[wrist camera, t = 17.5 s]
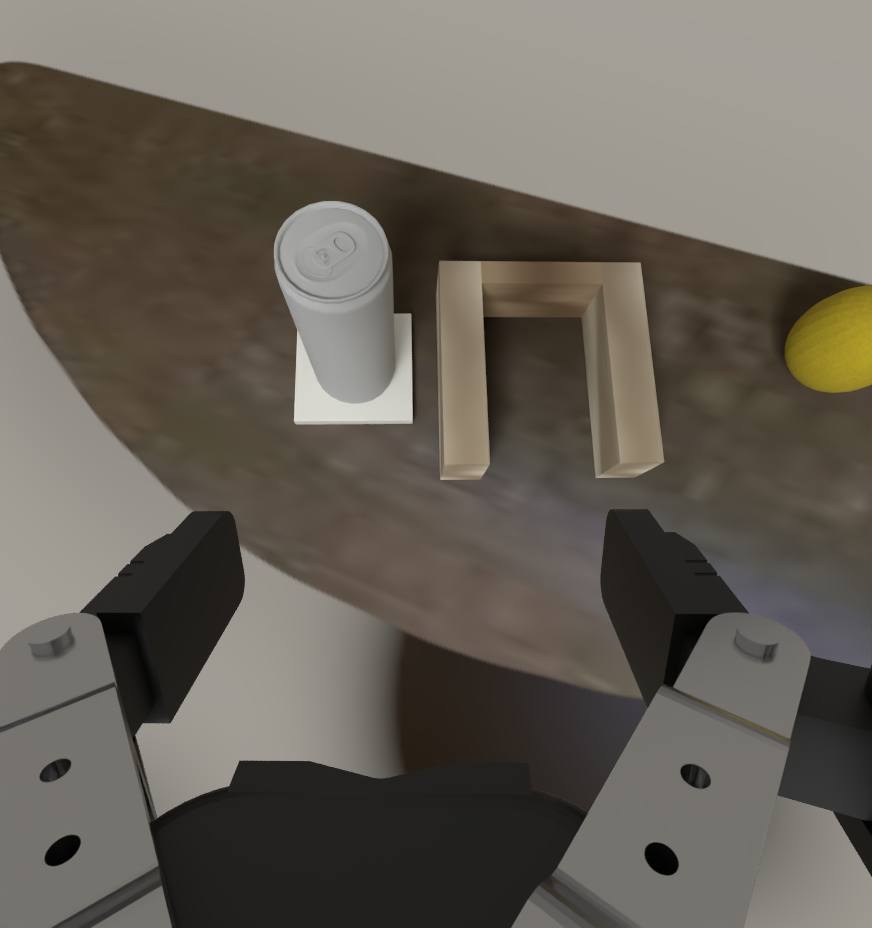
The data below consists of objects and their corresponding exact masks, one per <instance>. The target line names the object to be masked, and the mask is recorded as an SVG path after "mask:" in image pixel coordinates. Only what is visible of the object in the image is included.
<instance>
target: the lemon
mask: <svg viewBox="0 0 872 928" xmlns="http://www.w3.org/2000/svg"><path fill="white" fill-rule="evenodd" d="M784 349H785V361H786V364H787V367H788V369H789V371H790V372H791V374H792V375H793V376H794V377H795V378H796V379H797V380H798V381H799V382H800V383H802V384H803V385H805V386H807V387H809V388H812V389H814V390H817V391H823V392H828V393H837V392H849V391H853V390H857V389H860V388H863V387H866V386H869V385H871V384H872V285H867V286H861V287H855V288H850V289H847V290H844V291H841V292H839V293H837V294H834V295H832V296H830V297H828V298H826V299H824V300H822V301H820V302H818V303H817V304H815V305H814V306H813V307H811V308H810V309H809V310H808V311H807V312H806V313H805V314H804V315H802V316H801V317H800V318H799V319H798V320H797V322H796V323H795V324H794V326H793V328H792V329H791V331H790V333H789V334H788V337H787V340H786V344H785V348H784Z"/></svg>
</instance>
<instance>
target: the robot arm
mask: <svg viewBox="0 0 872 928" xmlns="http://www.w3.org/2000/svg"><path fill="white" fill-rule="evenodd" d="M244 586H245V575H244V569H243V563H242V557H241V552H240V546H239V540H238V535H237V529H236V524H235V520H234V517H233V515H232V514H231V513H230V512H229V511H195V512H192V513H190V514H189V515H188V516H187V518H186V519H185V520H184V521H183V522H182V523H181V524H180V525H179V526H178V527H177V528H176V529H175V530H174V531H173V532H172V533H171V534H166V535H165V536H163V537H161V538H159V539H157V540H156V541H154V542H152V543H151V544H149V545H147V546H145V547H144V548H143V549H142V550H141V551H140V552H139V553H138V554H137V555H136V556H135V557H134V558H133V559H132V560H131V563H130V564H127V565H126V566H125V567H124V568H123V569H122V570H121V571H120V572H119V574H118V577H114V578H113V579H112V580H111V581H110V582H109V583H108V584H107V585H106V586H105V587H104V588H103V589H102V590H101V592H99V593H98V594H97V596H95V597H94V598H93V599H92V601H90V602H89V604H87V606H85V608H84V609H82V610H81V612H80V613H70V614H64V615H59V616H55V617H52V618H48V619H45V620H43V621H40V622H38V623H36V624H34V625H31V626H29V627H27V628H26V629H24V630H22V631H21V632H19V633H18V634H16V635H15V636H14V637H12V638H11V639H10V640H9V641H8V642H7V643H6V644H5V645H4V646H3V647H2V649H1V650H0V928H744V924H745V920H746V916H747V912H748V908H749V904H750V900H751V896H752V892H753V888H754V884H755V881H756V876H757V873H758V869H759V865H760V861H761V857H762V853H763V849H764V845H765V841H766V837H767V833H768V829H769V825H770V822H771V818H772V814H773V809H774V806H775V802H776V798H777V795H778V796H782V797H785V798H789V799H792V800H796V801H799V802H803V803H806V804H810V805H813V806H817V807H820V808H824V809H827V810H831V811H833V813H834V814H835V816H836V818H837V819H838V821H839V823H840V825H841V826H842V828H843V829H844V831H845V833H846V835H847V836H848V838H849V840H850V841H851V843H852V844H853V846H854V848H855V849H856V851H857V852H858V855H859V856H860V858H861V859H862V861H863V863H864V865H865V866H866V868H867V870H868V871H869V873H870V875H871V876H872V665H871V668H870V669H869V668H864V667H859V666H854V665H850V664H845V663H840V662H835V661H830V660H825V659H821V658H817V657H813V656H811V655H810V652H809V649H808V647H807V645H806V644H805V643H804V642H803V640H802V639H801V638H800V637H799V636H797V635H796V634H795V633H794V632H792V631H791V630H790V629H788V628H786V627H785V626H783V625H781V624H779V623H777V622H775V621H772V620H770V619H767V618H764V617H761V616H757V615H753V614H749V613H748V611H747V610H746V609H745V608H744V606H743V605H742V604H741V602H740V601H739V600H738V599H737V597H736V596H735V595H734V594H733V592H732V591H731V590H730V589H729V587H728V586H727V585H726V583H725V582H724V581H723V580H722V578H721V577H720V576H717V572H716V571H715V570H714V568H713V567H712V566H711V564H710V563H707V559H706V558H705V557H704V556H703V554H702V553H701V552H700V551H699V549H698V548H697V547H696V545H694V544H693V543H691V542H690V541H688V540H686V539H685V538H683V537H682V536H680V535H678V534H677V533H675V532H664V531H663V529H662V528H661V527H660V525H659V524H658V522H657V521H656V520H655V518H654V517H653V516H652V514H651V513H650V511H649V510H647V509H611V510H610V511H609V512H608V515H607V519H606V528H605V537H604V547H603V556H602V566H601V592H602V598H603V602H604V605H605V607H606V609H607V612H608V614H609V617H610V619H611V622H612V624H613V626H614V629H615V631H616V634H617V636H618V638H619V641H620V643H621V646H622V648H623V650H624V653H625V655H626V658H627V660H628V663H629V665H630V667H631V670H632V672H633V675H634V677H635V679H636V682H637V684H638V687H639V689H640V692H641V694H642V696H643V699H644V701H645V703H646V706H647V708H648V709H647V711H646V713H645V715H644V716H643V718H642V720H641V722H640V723H639V725H638V727H637V728H636V730H635V732H634V734H633V736H632V737H631V739H630V741H629V742H628V744H627V746H626V748H625V750H624V751H623V753H622V755H621V757H620V758H619V760H618V762H617V763H616V765H615V767H614V769H613V771H612V772H611V774H610V776H609V778H608V779H607V781H606V783H605V785H604V786H603V788H602V790H601V792H600V793H599V795H598V797H597V799H596V800H595V802H594V804H593V806H592V807H591V809H590V811H589V813H588V812H586V811H584V810H583V809H581V808H580V807H578V806H576V805H574V804H572V803H570V802H568V801H566V800H564V799H562V798H560V797H557V796H554V795H552V794H550V793H547V792H544V791H540V790H537V789H533V788H532V786H531V779H530V772H529V765H528V763H452V764H448V765H443V766H439V767H434V768H430V769H425V770H421V771H417V772H412V773H408V774H404V775H399V776H394V777H390V778H384V779H377V778H372V777H368V776H364V775H360V774H356V773H353V772H349V771H345V770H341V769H337V768H334V767H329V766H326V765H322V764H318V763H314V762H311V761H239V764H238V766H237V768H236V771H235V773H234V776H233V778H232V781H231V783H230V786H229V787H224V788H221V789H217V790H214V791H212V792H209V793H205V794H202V795H200V796H198V797H196V798H193V799H191V800H189V801H186V802H184V803H182V804H181V805H179V806H177V807H175V808H173V809H171V810H170V811H168V812H166V813H165V814H163V815H162V816H160V817H158V818H157V814H156V810H155V807H154V803H153V799H152V795H151V792H150V787H149V784H148V780H147V776H146V772H145V768H144V764H143V761H142V757H141V753H140V750H139V746H138V743H137V739H136V736H135V734H136V733H137V731H138V730H139V728H140V726H141V725H142V723H171V721H172V720H173V718H174V716H175V715H176V713H177V711H178V709H179V708H180V706H181V704H182V702H183V701H184V699H185V697H186V696H187V694H188V692H189V690H190V689H191V687H192V685H193V683H194V682H195V680H196V678H197V677H198V675H199V673H200V671H201V670H202V668H203V666H204V664H205V663H206V661H207V659H208V658H209V656H210V654H211V652H212V651H213V649H214V647H215V646H216V644H217V642H218V640H219V639H220V637H221V635H222V634H223V632H224V630H225V628H226V627H227V625H228V623H229V621H230V620H231V618H232V616H233V615H234V613H235V611H236V610H237V608H238V606H239V604H240V602H241V600H242V597H243V593H244Z"/></svg>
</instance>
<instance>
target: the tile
mask: <svg viewBox="0 0 872 928" xmlns="http://www.w3.org/2000/svg"><path fill="white" fill-rule="evenodd" d="M394 337H395V371H394V374H393V378H392V380H391V382H390V384H389V386H388V387H387V389H386V390H385V391H384V392H383V393H382V394H381V395H380V396H378V397H377V398H375V399H374V400H372V401H368V402H365V403H358V404H350V403H345V402H341V401H339V400H337V399H335V398H333V397H331V396H330V395H329V394H328V393H326V392H325V391H324V390H323V388H322V387H321V385H320V384H319V382H318V380H317V378H316V375H315V373H314V370H313V368H312V365H311V363H310V360H309V358H308V355H307V353H306V350H305V348H304V345H303V342H302V340H301V337H300V335H299V332H298V330H297V357H296V384H295V410H294V422H295V424H413V406H412V329H411V314H394Z"/></svg>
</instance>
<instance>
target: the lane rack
mask: <svg viewBox="0 0 872 928" xmlns="http://www.w3.org/2000/svg"><path fill="white" fill-rule="evenodd" d="M483 317H581V318H582V330H583V341H584V352H585V363H586V374H587V386H588V397H589V408H590V419H591V431H592V442H593V453H594V464H595V475H596V478H629V477H636V476H638V475H640V474H642V473H644V472H646V471H648V470H650V469H652V468H654V467H656V466H658V465H660V464H662V463H664V456H663V448H662V439H661V431H660V422H659V414H658V405H657V397H656V388H655V380H654V372H653V363H652V355H651V346H650V338H649V329H648V321H647V312H646V304H645V296H644V287H643V279H642V270H641V263H632V262H514V261H439V268H438V279H437V290H436V324H437V365H438V407H439V448H440V480H463V479H481V478H482V476H483V474H484V473H485V471H486V470H487V468H488V466H489V465H490V454H489V432H488V410H487V388H486V366H485V344H484V321H483Z"/></svg>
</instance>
